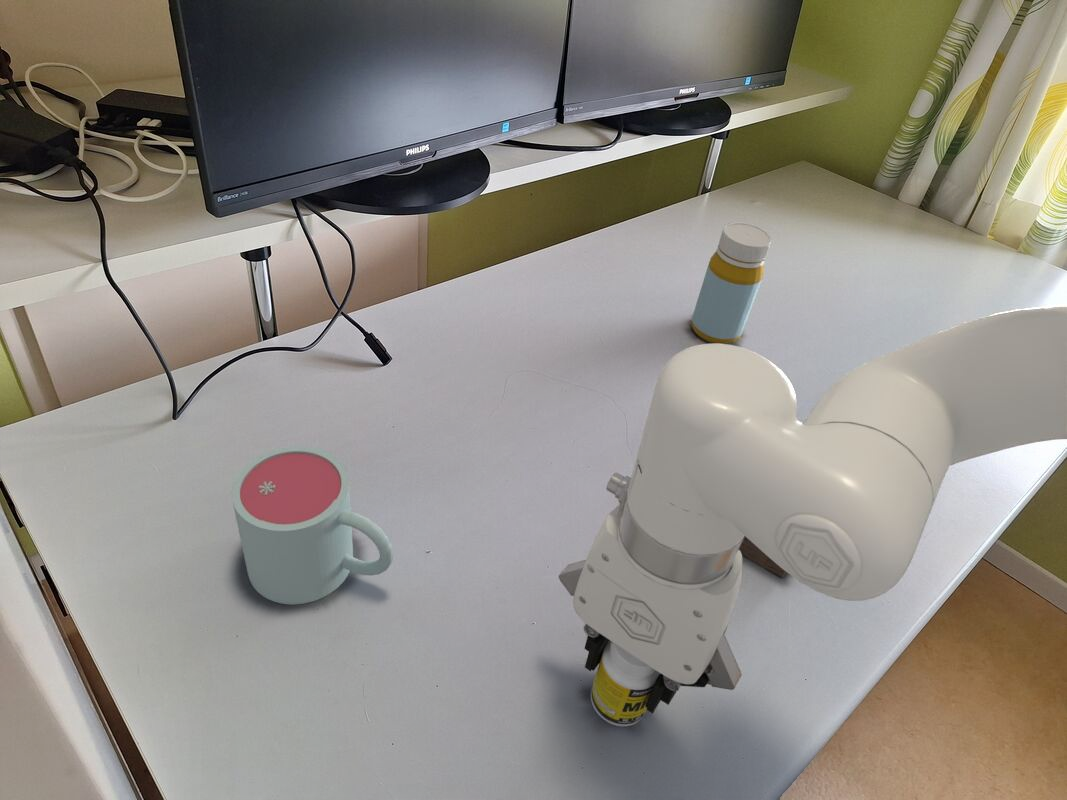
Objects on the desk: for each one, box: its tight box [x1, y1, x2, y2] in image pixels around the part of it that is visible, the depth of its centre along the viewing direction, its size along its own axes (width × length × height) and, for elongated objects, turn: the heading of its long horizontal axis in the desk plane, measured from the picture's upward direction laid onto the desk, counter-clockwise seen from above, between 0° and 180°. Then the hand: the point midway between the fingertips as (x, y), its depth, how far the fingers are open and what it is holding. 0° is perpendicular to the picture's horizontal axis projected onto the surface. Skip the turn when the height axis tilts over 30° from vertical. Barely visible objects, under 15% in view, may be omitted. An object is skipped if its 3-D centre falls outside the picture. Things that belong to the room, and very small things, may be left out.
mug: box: [231, 445, 394, 605], centre depth 65 cm, size 14×9×10 cm
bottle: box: [690, 221, 773, 345], centre depth 100 cm, size 7×7×15 cm
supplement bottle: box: [590, 640, 660, 727], centre depth 59 cm, size 5×5×8 cm
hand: (627, 675), depth 59 cm, fingers closed on supplement bottle, 4 cm apart
